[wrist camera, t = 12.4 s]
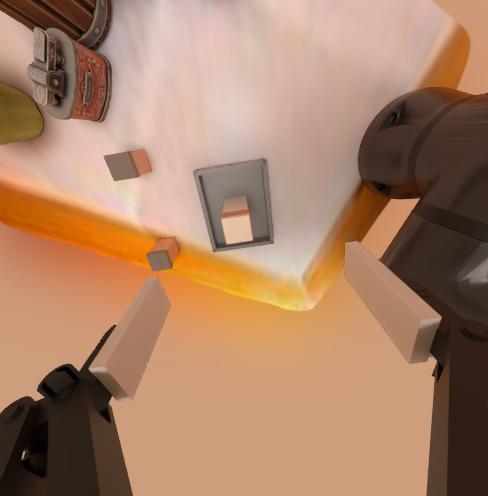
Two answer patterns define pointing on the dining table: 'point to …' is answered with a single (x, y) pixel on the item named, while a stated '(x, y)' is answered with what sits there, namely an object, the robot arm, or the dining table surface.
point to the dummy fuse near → (127, 164)
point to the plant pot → (18, 116)
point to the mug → (63, 17)
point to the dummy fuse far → (163, 254)
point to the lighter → (69, 77)
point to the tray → (233, 185)
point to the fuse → (236, 220)
